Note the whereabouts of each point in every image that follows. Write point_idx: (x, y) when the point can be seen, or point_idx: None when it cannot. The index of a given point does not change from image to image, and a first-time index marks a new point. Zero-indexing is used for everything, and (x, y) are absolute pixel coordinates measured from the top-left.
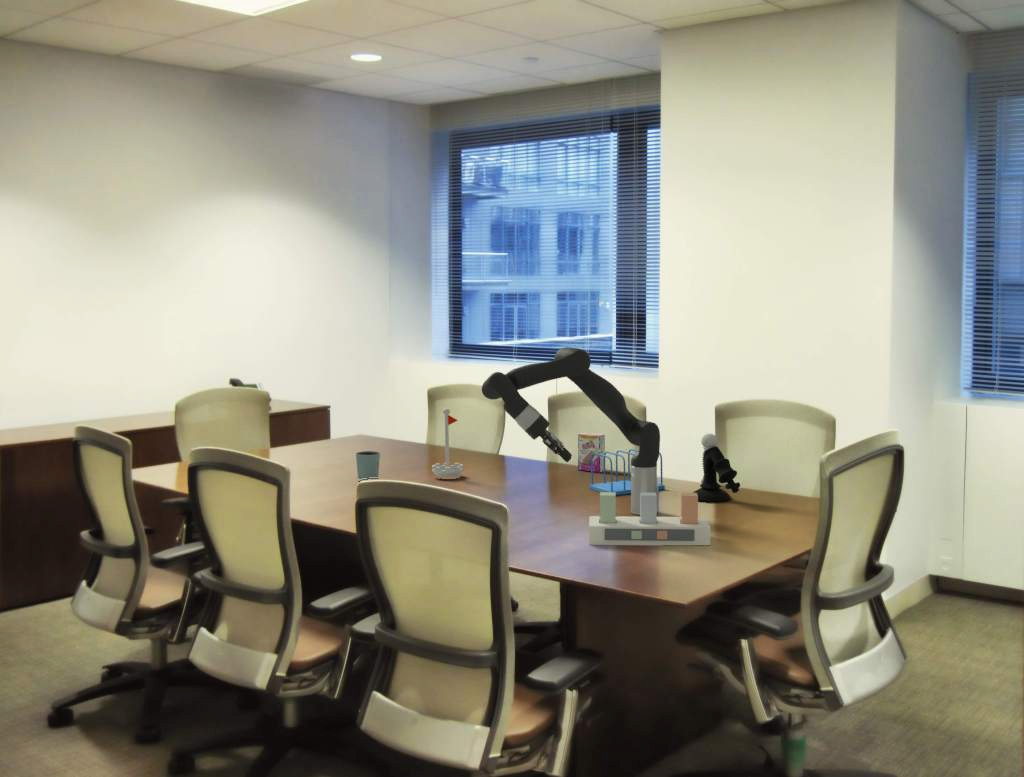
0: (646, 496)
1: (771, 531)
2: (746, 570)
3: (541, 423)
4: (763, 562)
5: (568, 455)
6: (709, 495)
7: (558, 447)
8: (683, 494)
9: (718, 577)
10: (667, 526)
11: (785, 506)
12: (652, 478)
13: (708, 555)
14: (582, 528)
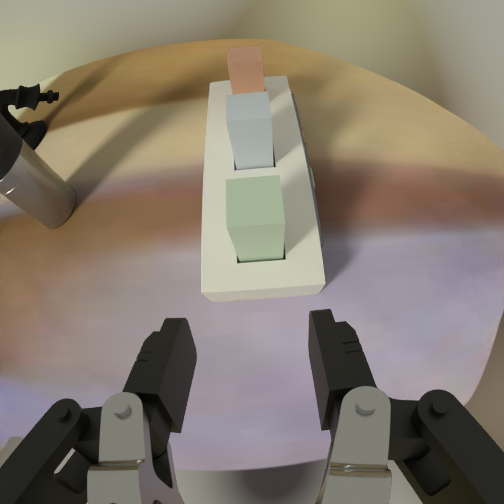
0: (269, 109)
1: (196, 58)
2: (395, 83)
3: None
4: (354, 66)
5: (337, 331)
6: (34, 133)
7: (467, 421)
8: (246, 59)
9: (435, 111)
10: (294, 122)
11: (85, 75)
12: (36, 154)
13: (342, 103)
14: (158, 321)
